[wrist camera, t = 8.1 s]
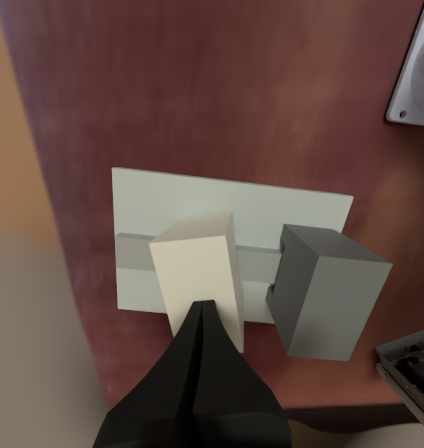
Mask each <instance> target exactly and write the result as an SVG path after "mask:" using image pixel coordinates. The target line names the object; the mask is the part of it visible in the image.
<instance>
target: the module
mask: <svg viewBox="0 0 424 448" xmlns="http://www.w3.org/2000/svg"><path fill="white" fill-rule="evenodd" d="M234 229H235V227H234V220H233V213H232V211H226V212H218V213H210V214H203V215H195V216H187V217H180V218H179V219H178V220H177V221H176V222H174V223H173V224H172V225H171V226H169V227H168V228H167V229H166V230H164V231H163V232H162V233H161V234H160V235H158V236H157V237H156V238H155V239H153V240H152V241H151V242H150V243H149V246H150V250H151V254H152V258H153V261H154V265H155V269H156V273H157V276H158V280H159V284H160V288H161V291H162V295H163V299H164V303H165V307H166V310H167V314H168V318H169V322H170V325H171V329H172V333H173V337H175V335H176V334H177V332H178V330H179V329H180V327H181V325H182V323H183V321H184V319H185V317H186V315H187V313H188V311H189V309H190V307H191V305H192V303H193V301H202V300H212V299H213V300H215V303H216V308H217V311H218V314H219V317H220V319H221V321H222V324H223V326H224V328H225V330H226V331H227V333H228V335H229V337H230V339H231V340H232V342H233V343H234V345H235V347H236V348H237V349H238V351H239V352H240V353H244V291H243V284H242V280H240V274H239V267H238V260H237V253H236V246H235V239H234Z"/></svg>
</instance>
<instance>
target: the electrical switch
mask: <svg viewBox="0 0 424 448" xmlns="http://www.w3.org/2000/svg"><path fill="white" fill-rule="evenodd" d="M423 333H424V330H421V331H419V332H416V333H413V334H410V335H407V336H404V337H401V338H398V339H396V340H393V341H390V342H387V343H384V344H381V345H378V346H376V347H375V349H376V351H377V353H378V355H379V359H380V361H381V362H380V363H377V365H376V369H377V370H378V372H379V374H380V375H381V377H382V378H383V379H384V380H385V381H386V382H387V384H388V385H389V386H390V387H391V388H392V389H393V391H394V392H395V393H396V394H397V395H398V396H399V397H400V399H401V400H402V401H403V402H404V403H405V404H406V406H407V407H408V408H409V409H410V410H411V411H412V413H413V414H414V415H415V416H416V417H417V418H418V420H419V421H420V422H421V423H422V424H423V425H424V348H423V347H424V334H423ZM419 341H420V342H421V343H420V342H419ZM397 343H399V344H397ZM413 344H414V345H417V347H418V348H419V349H420V350H417V351H414V352H411V350H410V347H411V346H412V345H413ZM421 344H422V345H423V346H422V345H421ZM389 345H390V346H389ZM388 346H389V347H388ZM403 346H404V347H405V348H406V353H405V349H404V347H403ZM387 355H388V356H387Z"/></svg>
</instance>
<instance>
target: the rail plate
mask: <svg viewBox="0 0 424 448" xmlns="http://www.w3.org/2000/svg"><path fill="white" fill-rule="evenodd" d="M112 182H113V205H114V228H115V251H116V274H117V297H118V309H127V310H138V311H148V312H158V313H167V310H166V307H165V303H164V299H163V295H162V291H161V288H160V284H159V280H158V276H157V273H156V269H155V265H154V261H153V258H152V254H151V250H150V246H149V243H150V242H151V241H152V240H153V239H155V238H156V237H157V236H158V235H160V234H161V233H162V232H163V231H164V230H166V229H167V228H168V227H169V226H171V225H172V224H173V223H174V222H176V221H177V220H178V219H179V218H180V217H187V216H195V215H203V214H210V213H218V212H226V211H232V213H233V220H234V227H235V229H234V239H235V246H236V253H237V260H238V267H239V274H240V280H242V284H243V291H244V321H252V322H262V323H273V324H275V326H276V328H277V331H278V334H279V336H280V339H281V342H282V344H283V347H284V350H285V352H286V355H287V356H294V357H305V358H316V359H327V360H338V361H349V358H350V356H351V354H352V352H353V350H354V348H355V345H356V343H357V341H358V339H359V337H360V335H361V332H362V330H363V328H364V326H365V324H366V322H367V320H368V317H369V315H370V313H371V311H372V309H373V307H374V304H375V302H376V300H377V298H378V296H379V294H380V291H381V289H382V287H383V285H384V283H385V281H386V279H387V276H388V274H389V272H390V270H391V268H392V266H393V263H391V262H389V261H387V260H386V259H384V258H382V257H381V256H379V255H377V254H375V253H374V252H372V251H370V250H369V249H367V248H365V247H363V246H362V245H360V244H358V243H357V242H355V241H353V240H351V239H350V238H348V237H346V236H345V235H343V234H341V232H342V229H343V226H344V223H345V220H346V218H347V215H348V212H349V209H350V206H351V203H352V200H353V196H349V195H346V194H339V193H330V192H322V191H314V190H305V189H297V188H288V187H280V186H272V185H263V184H255V183H247V182H238V181H230V180H222V179H213V178H205V177H197V176H188V175H180V174H171V173H163V172H155V171H146V170H138V169H130V168H121V167H115V168H112Z"/></svg>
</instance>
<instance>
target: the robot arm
mask: <svg viewBox="0 0 424 448" xmlns="http://www.w3.org/2000/svg"><path fill="white" fill-rule="evenodd" d="M400 112H401V113H402V116H401V118H400V116H399V115H400ZM386 118H387V120H388V121H390V122H397V123H405V124H413V125H420V126H424V9H423V12H422V15H421V18H420V21H419V23H418V26H417V29H416V32H415V35H414V38H413V40H412V43H411V46H410V49H409V52H408V54H407V57H406V60H405V63H404V66H403V69H402V71H401V74H400V77H399V80H398V83H397V86H396V88H395V91H394V94H393V97H392V100H391V103H390V105H389V108H388V111H387V114H386ZM92 448H292V438H291V430H290V426H289V423H288V421H287V418H286V416H285V414H284V412H283V410H282V408H281V406H280V404H279V403H278V401H277V399H276V397H275V396H274V394H273V392H272V391H271V389H270V388H269V387H268V386H267V385H266V384H265V383H264V382H263V381H262V379H261V378H260V377H259V376H258V375H257V374H256V373H255V372H254V370H253V369H252V368H251V367H250V366H249V364H248V363H247V362H246V360H245V359H244V358H243V356H242V355H241V354H240V352H239V351H238V349H237V348H236V347H235V345H234V343H233V342H232V340H231V339H230V337H229V335H228V333H227V331H226V330H225V328H224V326H223V324H222V321H221V319H220V317H219V314H218V311H217V308H216V303H215V300H213V299H212V300H202V301H193V303H192V305H191V307H190V309H189V311H188V313H187V315H186V317H185V319H184V321H183V323H182V325H181V327H180V329H179V330H178V332H177V334H176V335H175V337H174V339H173V340H172V342H171V343H170V345H169V346H168V348H167V349H166V351H165V352H164V353H163V355H162V356H161V358H160V359H159V360H158V361H157V363H156V364H155V365H154V366H153V368H152V369H151V370H150V371H149V372H148V374H147V375H146V376H145V377H144V378H143V379H142V380H141V381H140V382H139V383H138V384H137V386H136V387H135V388H134V389H133V390H132V391H131V392H130V393H129V394H128V395H127V396H125V397H124V398H123V399H122V400H121V401H120V402H119V403H118V404H117V405H116V406H115V407H114V408H112V409H111V410H110V411H109V412H108V413H107V415H106V418H105V420H104V421H103V424H102V426H101V428H100V430H99V433H98V435H97V437H96V440H95V442H94V445H93V447H92Z"/></svg>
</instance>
